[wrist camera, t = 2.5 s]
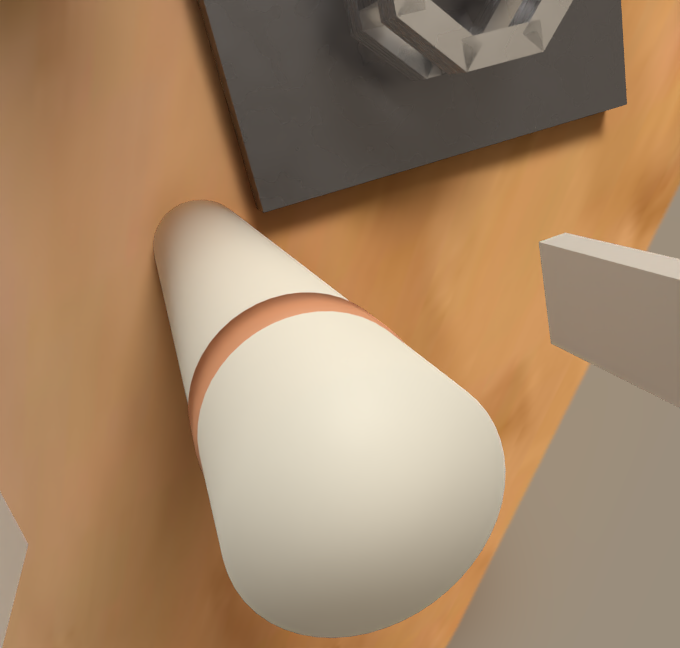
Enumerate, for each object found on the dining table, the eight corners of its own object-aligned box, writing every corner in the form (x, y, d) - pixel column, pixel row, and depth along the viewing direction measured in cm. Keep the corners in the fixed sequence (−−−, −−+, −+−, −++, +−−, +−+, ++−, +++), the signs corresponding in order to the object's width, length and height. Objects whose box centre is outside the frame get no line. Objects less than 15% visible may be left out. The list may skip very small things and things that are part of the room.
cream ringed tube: (171, 306, 29) (268, 687, 9) (137, 214, 28) (169, 437, 8) (261, 277, 30) (524, 565, 10) (234, 187, 28) (486, 320, 9)
